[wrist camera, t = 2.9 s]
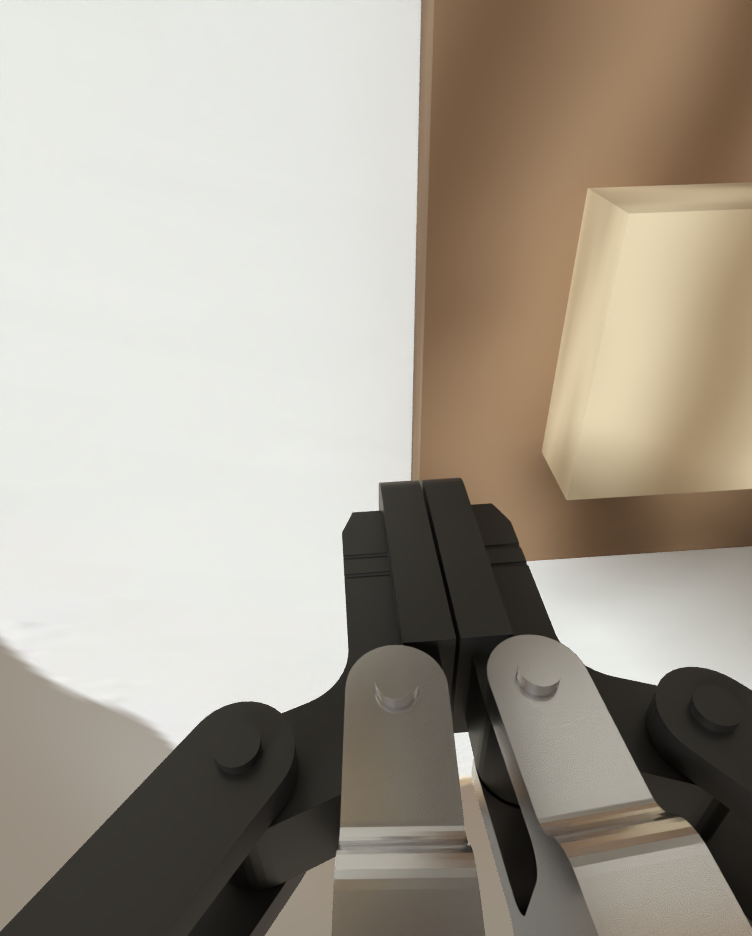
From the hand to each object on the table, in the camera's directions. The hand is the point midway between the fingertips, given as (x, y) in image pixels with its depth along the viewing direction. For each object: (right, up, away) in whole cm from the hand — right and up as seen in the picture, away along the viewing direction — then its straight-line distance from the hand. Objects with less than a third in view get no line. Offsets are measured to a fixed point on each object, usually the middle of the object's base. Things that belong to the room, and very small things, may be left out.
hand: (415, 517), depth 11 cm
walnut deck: (+7, +6, +8) cm, 12 cm away
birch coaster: (+9, +5, +6) cm, 12 cm away
